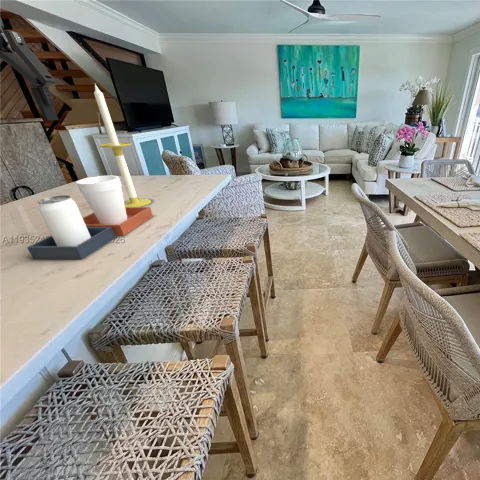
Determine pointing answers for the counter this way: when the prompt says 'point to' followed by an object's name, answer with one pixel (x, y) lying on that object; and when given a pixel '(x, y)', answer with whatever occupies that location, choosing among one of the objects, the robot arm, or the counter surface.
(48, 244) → the can bin
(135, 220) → the bin
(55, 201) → the can
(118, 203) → the foam cup
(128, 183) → the candle
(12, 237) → the counter surface
